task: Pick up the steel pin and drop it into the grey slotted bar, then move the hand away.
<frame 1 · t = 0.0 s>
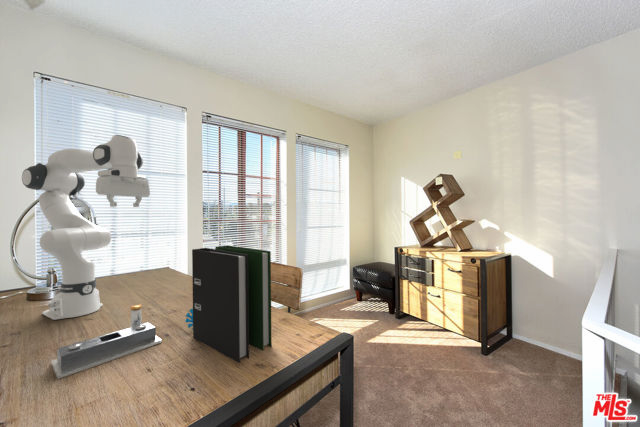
hand: (125, 206, 112), 48 cm above the table, tool pointing down, fingers open, 8 cm apart
grey slotted bar: (110, 352, 86), on the table
gear: (200, 328, 105), on the table
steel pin: (136, 332, 101), on the table
binders: (231, 342, 93), on the table
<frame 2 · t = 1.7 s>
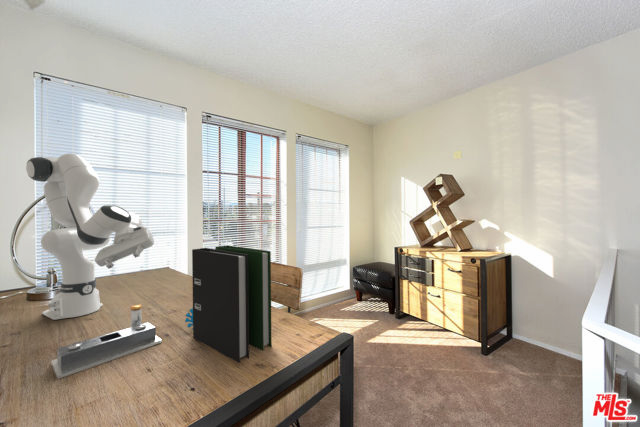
hand: (122, 261, 99), 27 cm above the table, tool tilted 60°, fingers open, 8 cm apart
nothing on the table moved.
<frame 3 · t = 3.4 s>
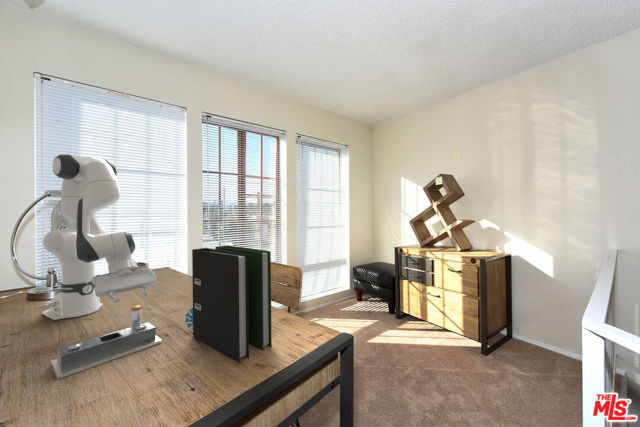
hand: (131, 298, 104), 12 cm above the table, tool tilted 45°, fingers open, 8 cm apart
nothing on the table moved.
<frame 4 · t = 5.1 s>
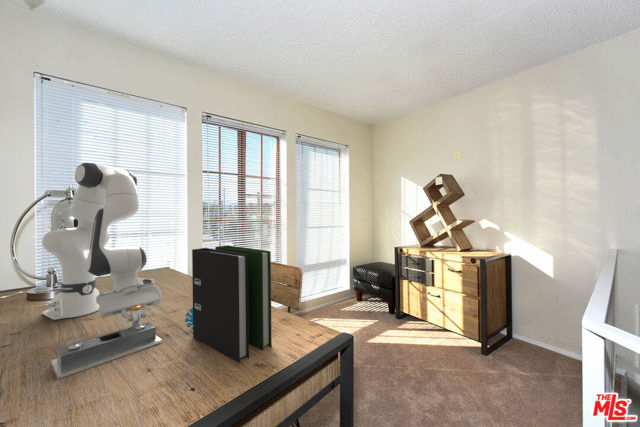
hand: (136, 318, 100), 5 cm above the table, tool tilted 45°, fingers closed on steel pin, 3 cm apart
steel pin: (136, 332, 101), on the table, touching gripper
everything else where it was.
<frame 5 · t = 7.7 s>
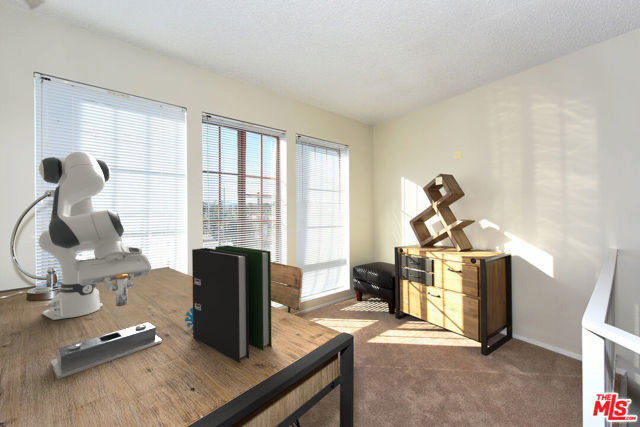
hand: (122, 288, 89), 20 cm above the table, tool tilted 45°, fingers closed on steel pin, 3 cm apart
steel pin: (121, 304, 89), point 15 cm above the table, touching gripper
everything else where it was.
when the fingers open (8 cm above the table, at t = 10.6 s): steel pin drops 2 cm, resting on grey slotted bar.
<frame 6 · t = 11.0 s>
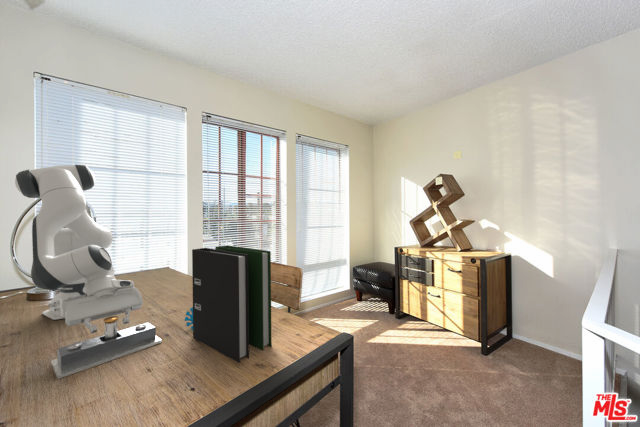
hand: (110, 327, 86), 8 cm above the table, tool tilted 45°, fingers open, 7 cm apart
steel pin: (110, 349, 86), point 1 cm above the table, touching grey slotted bar
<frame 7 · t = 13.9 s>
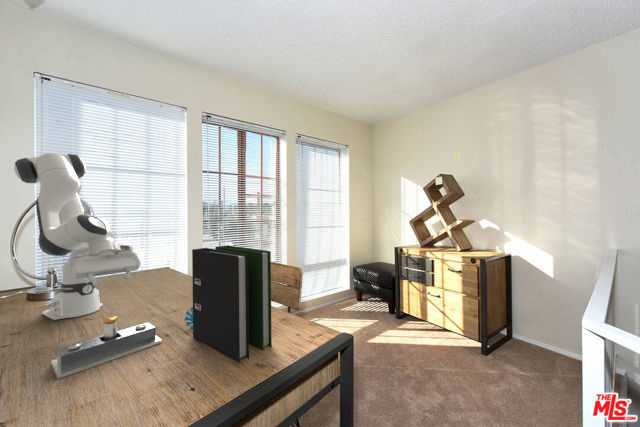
hand: (113, 282, 99), 20 cm above the table, tool tilted 45°, fingers open, 8 cm apart
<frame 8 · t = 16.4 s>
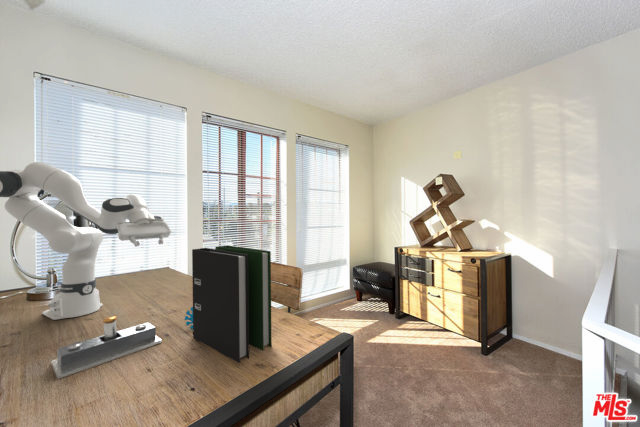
hand: (149, 244, 118), 31 cm above the table, tool tilted 45°, fingers open, 8 cm apart
at the end: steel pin 0.1 cm off-centre on the grey slotted bar, point 1.1 cm above the grey slotted bar's base; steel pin tilted 2°; the gripper is holding nothing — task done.
